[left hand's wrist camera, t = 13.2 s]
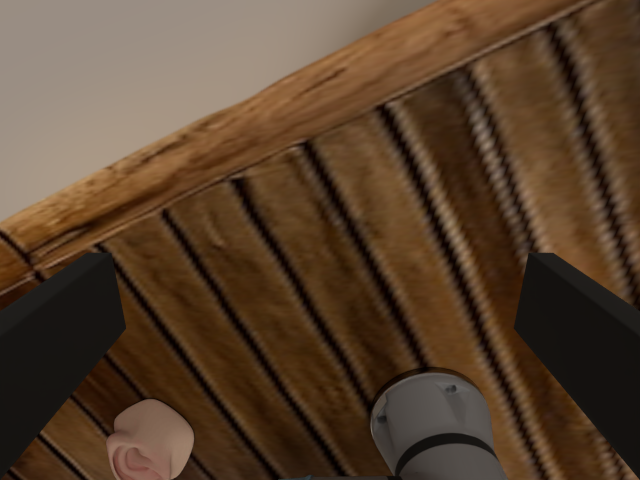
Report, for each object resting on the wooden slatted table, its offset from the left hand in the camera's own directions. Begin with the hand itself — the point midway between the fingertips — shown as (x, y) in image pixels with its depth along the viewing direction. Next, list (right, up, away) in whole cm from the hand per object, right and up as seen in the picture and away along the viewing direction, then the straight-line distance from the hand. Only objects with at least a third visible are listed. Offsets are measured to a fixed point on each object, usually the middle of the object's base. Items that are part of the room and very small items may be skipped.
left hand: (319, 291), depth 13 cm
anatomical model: (-23, -26, +41) cm, 53 cm away
